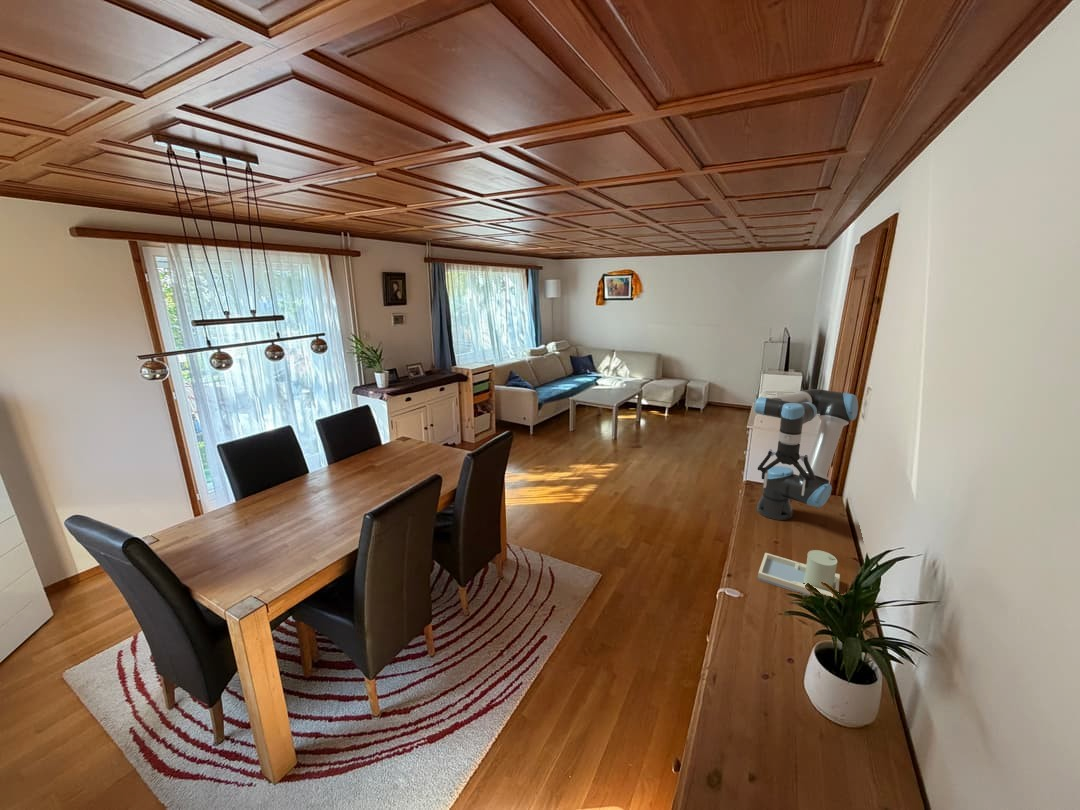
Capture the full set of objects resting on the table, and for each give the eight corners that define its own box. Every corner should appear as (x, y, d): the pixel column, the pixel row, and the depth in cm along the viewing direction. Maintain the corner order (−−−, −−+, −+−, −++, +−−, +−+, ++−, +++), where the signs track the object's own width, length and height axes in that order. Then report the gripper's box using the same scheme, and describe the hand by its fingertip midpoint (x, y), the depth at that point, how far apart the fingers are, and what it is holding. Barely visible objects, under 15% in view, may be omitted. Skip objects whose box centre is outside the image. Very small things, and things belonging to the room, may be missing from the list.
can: (837, 594, 150) (842, 565, 146) (809, 591, 152) (813, 563, 148) (826, 577, 158) (830, 549, 155) (799, 575, 160) (803, 547, 157)
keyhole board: (764, 558, 172) (765, 552, 171) (838, 581, 157) (839, 574, 157) (757, 579, 160) (758, 572, 160) (836, 605, 146) (838, 598, 145)
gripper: (752, 439, 171) (748, 486, 177) (826, 450, 157) (818, 501, 162) (756, 434, 177) (751, 479, 182) (827, 444, 162) (820, 493, 168)
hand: (783, 490), depth 172 cm, fingers open, 13 cm apart
